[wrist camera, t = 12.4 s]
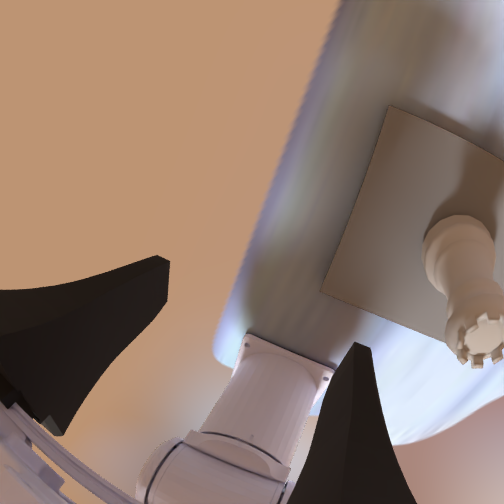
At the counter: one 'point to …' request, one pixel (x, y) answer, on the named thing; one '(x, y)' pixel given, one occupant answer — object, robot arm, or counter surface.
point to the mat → (413, 220)
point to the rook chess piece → (467, 287)
